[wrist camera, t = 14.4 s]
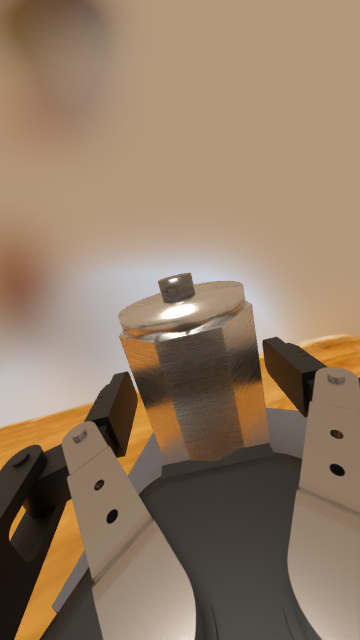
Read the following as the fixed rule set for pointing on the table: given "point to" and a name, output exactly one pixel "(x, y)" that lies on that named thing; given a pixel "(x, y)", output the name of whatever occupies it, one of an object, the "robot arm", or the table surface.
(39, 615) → the table surface
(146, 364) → the steel canister
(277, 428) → the rubber mat
